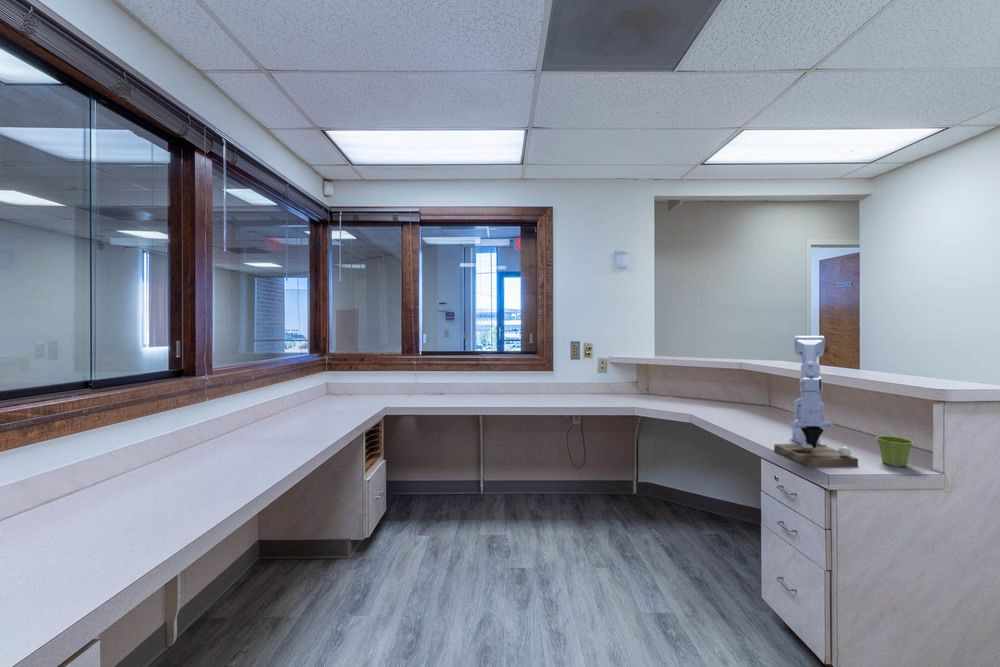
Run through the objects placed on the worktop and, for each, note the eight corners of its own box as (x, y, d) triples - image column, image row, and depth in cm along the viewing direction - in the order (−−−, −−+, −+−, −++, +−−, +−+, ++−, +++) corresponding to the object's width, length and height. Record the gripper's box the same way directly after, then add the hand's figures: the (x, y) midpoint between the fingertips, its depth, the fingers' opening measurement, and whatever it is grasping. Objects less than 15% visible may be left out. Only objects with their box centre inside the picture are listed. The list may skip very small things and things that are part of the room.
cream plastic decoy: (835, 455, 147) (835, 445, 146) (845, 454, 147) (845, 445, 146) (843, 458, 143) (843, 448, 143) (853, 458, 143) (853, 448, 143)
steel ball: (808, 442, 153) (806, 451, 153) (800, 440, 153) (798, 449, 153) (816, 444, 150) (815, 453, 149) (807, 442, 149) (806, 451, 149)
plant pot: (875, 457, 150) (875, 434, 150) (911, 463, 144) (911, 438, 144) (876, 465, 143) (877, 440, 142) (915, 471, 137) (915, 445, 136)
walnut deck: (774, 450, 160) (774, 444, 160) (817, 449, 160) (817, 443, 160) (808, 467, 142) (808, 459, 142) (857, 465, 142) (857, 458, 142)
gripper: (799, 412, 147) (799, 450, 147) (839, 411, 147) (840, 449, 147) (785, 408, 154) (786, 445, 154) (824, 408, 154) (824, 444, 154)
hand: (811, 447), depth 151 cm, fingers closed, pressing on steel ball
